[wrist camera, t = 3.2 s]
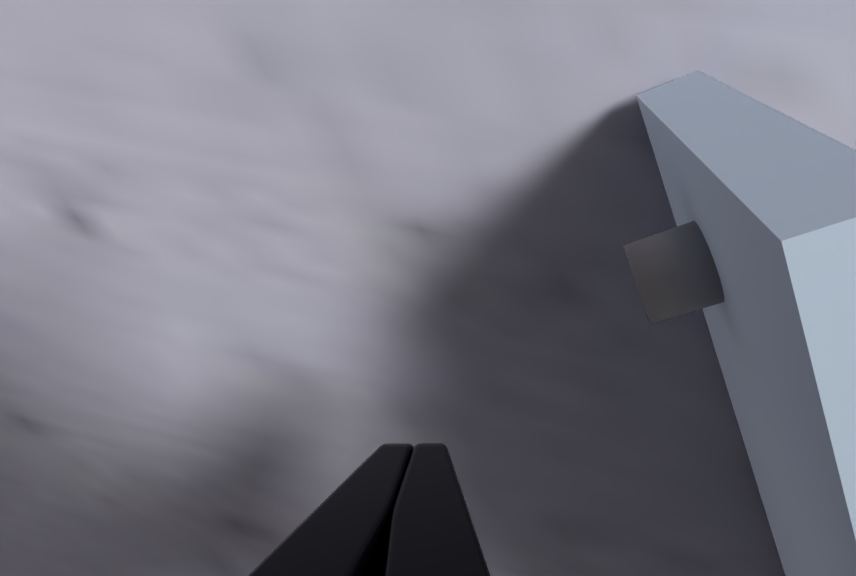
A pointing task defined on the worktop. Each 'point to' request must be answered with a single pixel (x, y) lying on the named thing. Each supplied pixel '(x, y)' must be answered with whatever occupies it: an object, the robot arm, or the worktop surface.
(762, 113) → the door
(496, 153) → the worktop surface
